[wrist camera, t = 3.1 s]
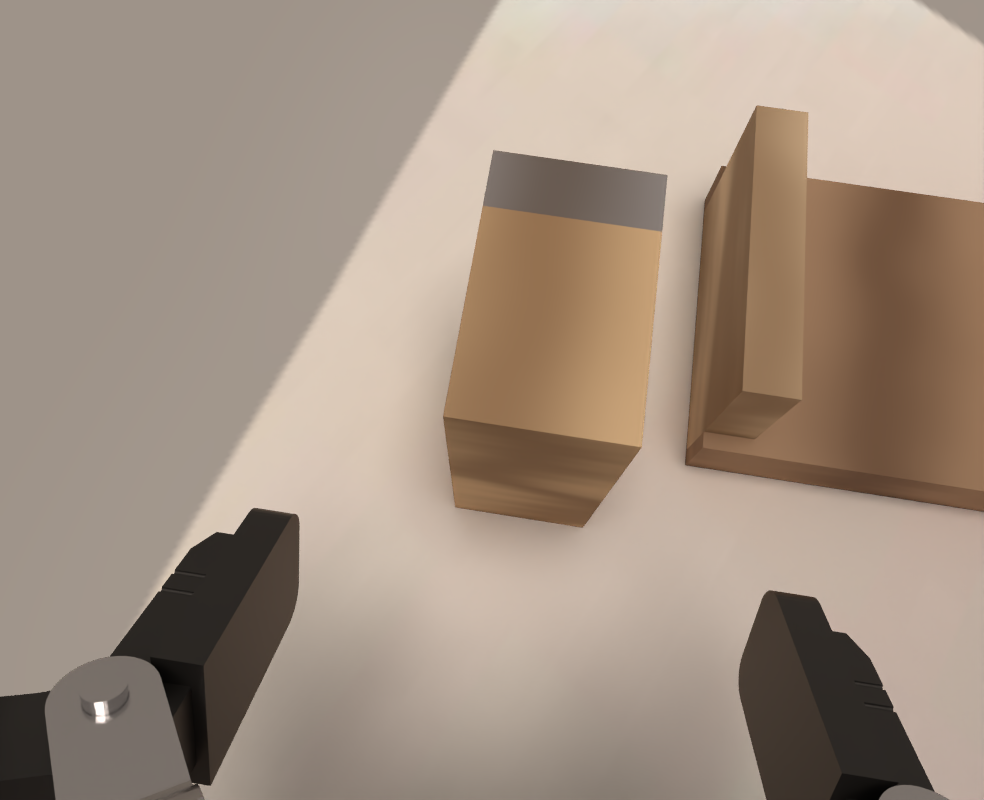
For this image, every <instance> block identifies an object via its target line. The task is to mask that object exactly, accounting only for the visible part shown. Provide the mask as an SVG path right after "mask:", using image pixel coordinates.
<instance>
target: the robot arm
mask: <svg viewBox="0 0 984 800" xmlns="http://www.w3.org/2000/svg"><path fill="white" fill-rule="evenodd" d="M298 586H299V518H298V516H297V515H296V514H290V513H284V512H278V511H271V510H265V509H259V508H253V509H252V510H251V511H250V512H249V513H248V515H247V516H246V518H245V519H244V521H243V522H242V523H241V525H240V526H239V528H238V529H237V531H236V532H235V534H234V535H232V534H226V533H219V532H216V533H214V534H213V535H211V536H210V537H208V538H207V539H205V540H204V541H202V542H200V543H199V544H197V545H196V546H194V547H193V548H191V549H190V550H189V552H188V553H187V554H186V556H185V557H184V558H183V560H182V561H181V562H180V564H179V565H178V566H177V568H176V569H175V573H174V574H171V576H170V577H169V578H168V580H167V581H166V582H165V584H164V585H163V586H162V590H161V592H158V593H157V594H156V596H155V597H154V598H153V600H152V601H151V602H150V604H149V605H148V606H147V608H146V609H145V610H144V612H143V613H142V614H141V616H140V617H139V618H138V620H137V621H136V622H135V624H134V625H133V626H132V628H131V629H130V630H129V632H128V633H127V634H126V636H125V637H124V638H123V640H122V641H121V642H120V644H119V645H118V646H117V648H116V649H115V650H114V652H113V653H112V654H111V656H110V657H105V658H101V659H97V660H94V661H91V662H88V663H86V664H84V665H81V666H79V667H77V668H76V669H74V670H72V671H71V672H69V673H68V674H67V675H65V676H64V677H63V678H62V679H61V680H60V681H59V682H58V683H57V684H56V685H55V686H54V688H53V689H52V690H51V691H47V692H41V693H34V694H24V695H14V696H4V697H0V800H204V797H203V794H202V792H201V789H200V787H199V785H198V784H203V785H208V786H211V784H212V782H213V780H214V778H215V776H216V774H217V771H218V769H219V767H220V765H221V763H222V761H223V759H224V757H225V755H226V753H227V751H228V749H229V747H230V745H231V743H232V741H233V739H234V736H235V734H236V732H237V730H238V728H239V726H240V724H241V722H242V720H243V718H244V716H245V714H246V712H247V710H248V708H249V706H250V704H251V701H252V699H253V697H254V695H255V693H256V691H257V689H258V687H259V685H260V683H261V681H262V679H263V677H264V675H265V673H266V671H267V668H268V666H269V664H270V662H271V660H272V658H273V656H274V654H275V652H276V650H277V648H278V646H279V644H280V642H281V640H282V638H283V636H284V633H285V631H286V629H287V627H288V625H289V623H290V621H291V618H292V616H293V612H294V609H295V605H296V601H297V595H298ZM882 686H883V684H882V682H881V680H880V678H879V676H878V674H877V672H876V670H875V668H874V666H873V664H872V662H871V660H870V658H869V657H868V656H867V655H866V654H865V653H864V652H863V651H862V650H861V649H860V648H859V646H858V645H857V644H856V643H855V642H854V641H853V640H852V639H851V638H850V637H849V636H848V635H847V634H846V633H840V632H834V631H832V630H831V628H830V625H829V623H828V621H827V619H826V616H825V614H824V612H823V610H822V607H821V605H820V603H819V601H818V600H817V599H816V598H814V597H809V596H803V595H796V594H790V593H784V592H777V591H771V590H770V591H767V592H766V593H765V595H764V596H763V598H762V601H761V604H760V607H759V609H758V612H757V615H756V618H755V621H754V624H753V627H752V629H751V632H750V635H749V638H748V641H747V644H746V647H745V649H744V652H743V655H742V658H741V662H740V668H739V694H740V699H741V703H742V707H743V710H744V714H745V718H746V722H747V726H748V730H749V734H750V738H751V741H752V745H753V749H754V753H755V757H756V761H757V765H758V769H759V772H760V776H761V780H762V784H763V788H764V792H765V796H766V800H949V799H947V798H945V797H943V796H942V795H940V794H938V793H935V792H934V790H933V787H932V785H931V783H930V781H929V779H928V777H927V775H926V773H925V771H924V769H923V767H922V765H921V763H920V761H919V759H918V757H917V754H916V752H915V750H914V748H913V746H912V744H911V742H910V740H909V738H908V736H907V734H906V732H905V730H904V728H903V726H902V724H901V721H900V719H899V717H898V715H897V713H896V712H893V705H892V703H891V701H890V699H889V697H888V695H887V693H886V691H885V690H883V689H882ZM192 783H197V784H195V785H193V784H192Z"/></svg>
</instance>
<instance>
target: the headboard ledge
mask: <svg viewBox="0 0 984 800" xmlns="http://www.w3.org/2000/svg"><path fill="white" fill-rule="evenodd" d="M807 146H808V113H807V112H800V111H793V110H786V109H778V108H771V107H764V106H756V108H755V110H754V112H753V114H752V116H751V118H750V120H749V122H748V124H747V126H746V128H745V130H744V132H743V134H742V136H741V138H740V140H739V142H738V145H737V147H736V149H735V151H734V153H733V155H732V157H731V159H730V161H729V163H728V165H727V167H726V166H721V168H720V170H719V172H718V174H717V177H716V179H715V181H714V183H713V185H712V187H711V189H710V191H709V193H708V195H707V197H706V199H705V207H704V221H703V234H702V248H701V261H700V275H699V288H698V301H697V315H696V328H695V342H694V355H693V369H692V382H691V396H690V409H689V423H688V436H687V449H686V463H685V465H689V466H696V467H702V468H709V469H715V470H721V471H728V472H734V473H741V474H747V475H754V476H760V477H766V478H773V479H779V480H786V481H792V482H799V483H805V484H811V485H818V486H824V487H831V488H837V489H843V490H850V491H856V492H863V493H869V494H876V495H882V496H888V497H895V498H901V499H908V500H914V501H920V502H927V503H933V504H940V505H946V506H953V507H959V508H965V509H972V510H978V511H984V203H980V202H973V201H966V200H959V199H952V198H945V197H938V196H931V195H924V194H916V193H909V192H902V191H895V190H888V189H881V188H874V187H867V186H860V185H853V184H846V183H839V182H832V181H825V180H818V179H810V178H807Z"/></svg>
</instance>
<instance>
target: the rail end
mask: <svg viewBox="0 0 984 800" xmlns="http://www.w3.org/2000/svg"><path fill="white" fill-rule="evenodd" d="M666 185H667V175H663V174H656V173H649V172H642V171H635V170H628V169H621V168H614V167H607V166H600V165H593V164H586V163H579V162H572V161H565V160H558V159H551V158H544V157H537V156H530V155H523V154H516V153H509V152H502V151H495V150H493V155H492V160H491V165H490V171H489V176H488V181H487V187H486V192H485V197H484V203H483V208H482V213H481V219H480V224H479V229H478V234H477V240H476V245H475V250H474V256H473V261H472V266H471V272H470V277H469V282H468V287H467V293H466V298H465V303H464V309H463V314H462V319H461V325H460V330H459V335H458V340H457V346H456V351H455V356H454V362H453V367H452V372H451V378H450V383H449V388H448V393H447V399H446V404H445V409H444V415H443V419H444V426H445V434H446V441H447V449H448V456H449V463H450V471H451V478H452V485H453V493H454V500H455V507H457V508H464V509H470V510H476V511H482V512H489V513H495V514H501V515H508V516H514V517H520V518H526V519H533V520H539V521H545V522H551V523H558V524H564V525H570V526H576V527H583V526H584V525H585V524H586V522H587V521H588V520H589V518H590V517H591V516H592V514H593V513H594V511H595V510H596V509H597V507H598V506H599V505H600V503H601V502H602V501H603V499H604V498H605V497H606V495H607V494H608V492H609V491H610V490H611V488H612V487H613V486H614V484H615V483H616V482H617V480H618V479H619V477H620V476H621V475H622V473H623V472H624V471H625V469H626V468H627V467H628V465H629V464H630V462H631V461H632V460H633V458H634V457H635V456H636V454H637V453H638V452H639V450H640V449H641V447H642V438H643V427H644V417H645V406H646V396H647V385H648V374H649V364H650V353H651V343H652V332H653V322H654V311H655V301H656V290H657V279H658V269H659V258H660V248H661V237H662V227H663V216H664V206H665V195H666Z"/></svg>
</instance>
